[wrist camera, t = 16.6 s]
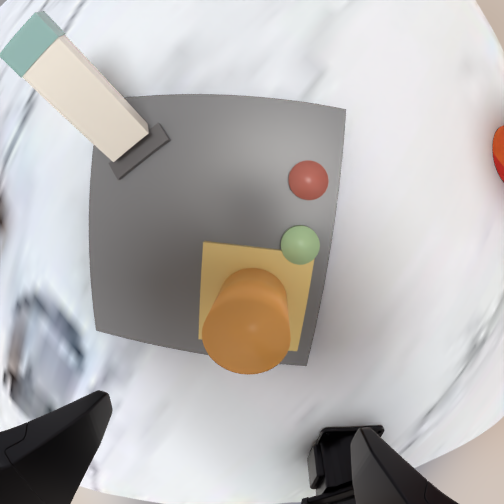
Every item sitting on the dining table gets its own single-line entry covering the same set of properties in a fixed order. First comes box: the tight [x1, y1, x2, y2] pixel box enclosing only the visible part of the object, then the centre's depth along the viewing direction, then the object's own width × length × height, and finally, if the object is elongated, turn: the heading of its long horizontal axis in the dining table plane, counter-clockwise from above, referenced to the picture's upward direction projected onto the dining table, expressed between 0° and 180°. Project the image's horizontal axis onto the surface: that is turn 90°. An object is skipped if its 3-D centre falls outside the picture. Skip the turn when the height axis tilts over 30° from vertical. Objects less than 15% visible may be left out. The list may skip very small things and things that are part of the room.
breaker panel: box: [89, 94, 346, 366], centre depth 18 cm, size 17×18×1 cm
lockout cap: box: [202, 268, 291, 374], centre depth 16 cm, size 4×4×5 cm
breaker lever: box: [0, 11, 149, 162], centre depth 12 cm, size 2×3×11 cm
